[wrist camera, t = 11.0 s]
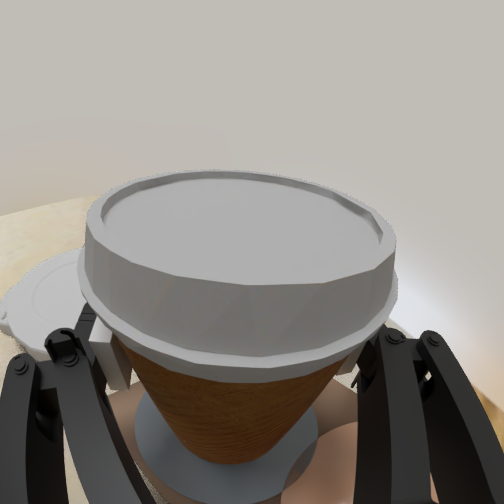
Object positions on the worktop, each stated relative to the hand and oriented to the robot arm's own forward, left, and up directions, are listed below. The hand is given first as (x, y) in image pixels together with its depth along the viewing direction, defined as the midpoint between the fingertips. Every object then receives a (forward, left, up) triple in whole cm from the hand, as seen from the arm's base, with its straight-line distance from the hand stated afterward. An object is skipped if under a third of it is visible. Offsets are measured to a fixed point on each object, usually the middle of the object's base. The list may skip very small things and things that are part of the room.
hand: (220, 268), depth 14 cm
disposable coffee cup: (+4, -3, -7) cm, 8 cm away
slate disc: (+4, -3, -8) cm, 9 cm away
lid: (-15, -7, -10) cm, 19 cm away
